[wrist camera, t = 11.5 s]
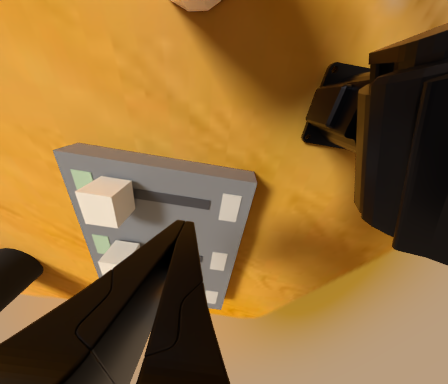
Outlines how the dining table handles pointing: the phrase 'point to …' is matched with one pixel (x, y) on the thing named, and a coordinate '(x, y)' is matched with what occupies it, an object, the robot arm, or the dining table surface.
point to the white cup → (196, 4)
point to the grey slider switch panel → (167, 204)
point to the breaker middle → (116, 254)
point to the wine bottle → (16, 274)
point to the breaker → (106, 201)
